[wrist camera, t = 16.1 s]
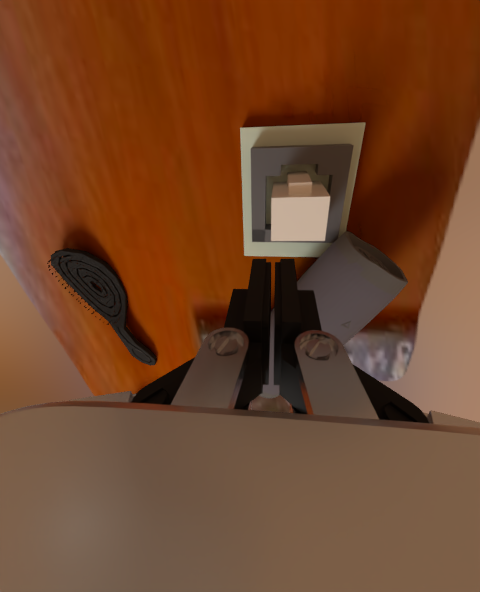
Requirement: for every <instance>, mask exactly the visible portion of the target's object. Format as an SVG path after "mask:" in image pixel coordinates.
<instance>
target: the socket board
mask: <svg viewBox="0 0 480 592" xmlns="http://www.w3.org/2000/svg"><path fill="white" fill-rule="evenodd" d="M365 124H366V123H364V122H361V123H338V124H315V125H291V126H268V127H244V128H240V134H241V165H242V196H243V227H244V256H283V257H320V256H321V255H322V254H323V253H324V252H325V251H326V250H327V249H328V247H329V246H330V245H331V244H332V243H334V242H335V241H336V240H337V239H338V238H339V237H340V236H341V235H342V234H343V233H344V232H346V227H347V222H348V216H349V211H350V206H351V200H352V195H353V189H354V184H355V178H356V173H357V167H358V162H359V157H360V151H361V146H362V140H363V135H364V129H365ZM295 171H307V172H308V174H309V176H310V179H311V181H321V182H322V184H323V186H324V187H325V189H326V190H327V192H328V193H329V195H330V204H329V212H328V220H327V228H326V236H325V241H271V197H272V189H273V182H287V175H288V172H295Z"/></svg>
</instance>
